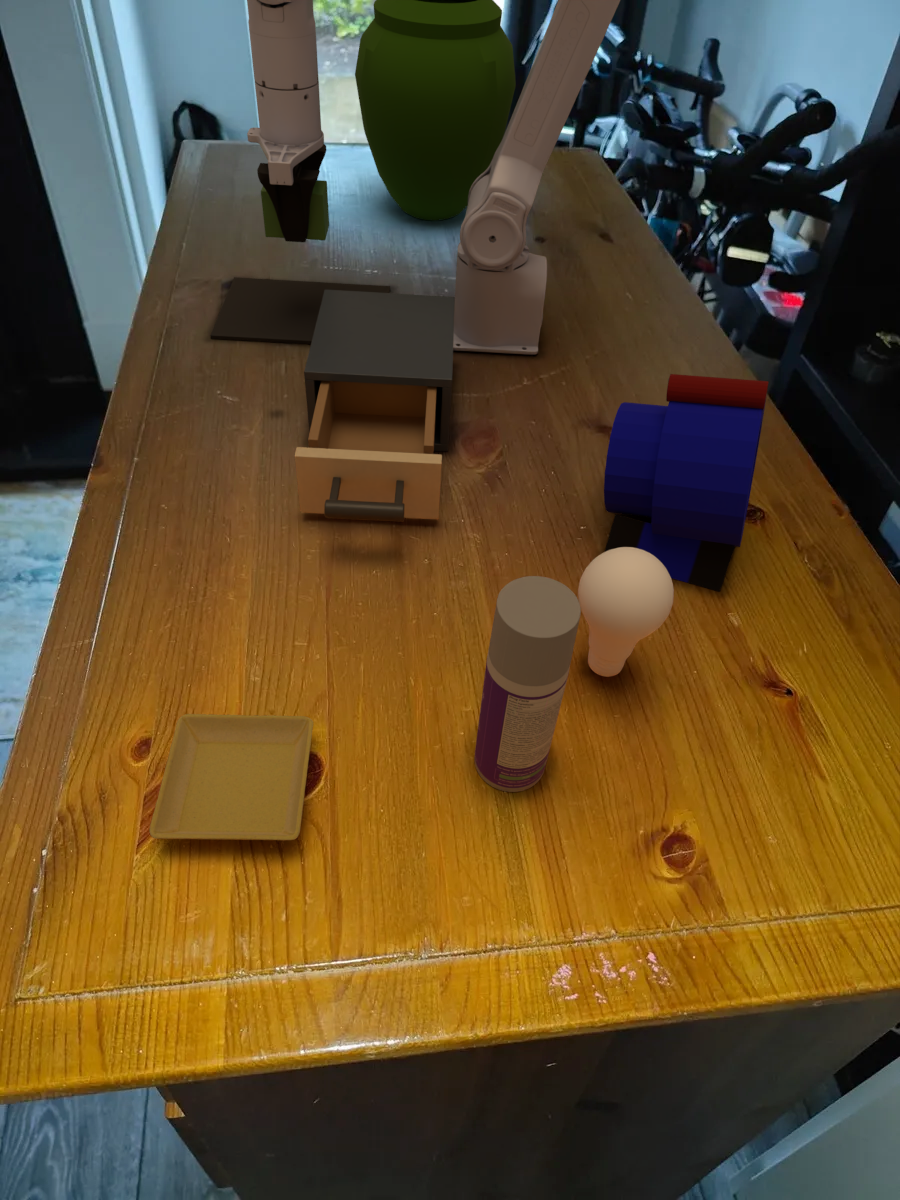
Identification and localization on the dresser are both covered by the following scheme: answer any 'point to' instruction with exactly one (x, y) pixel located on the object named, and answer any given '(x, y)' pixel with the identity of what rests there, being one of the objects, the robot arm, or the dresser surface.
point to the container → (525, 680)
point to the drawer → (371, 453)
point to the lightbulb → (622, 604)
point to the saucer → (234, 778)
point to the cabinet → (384, 346)
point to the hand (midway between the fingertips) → (298, 231)
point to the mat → (276, 309)
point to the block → (316, 216)
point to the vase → (434, 98)
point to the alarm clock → (686, 474)
